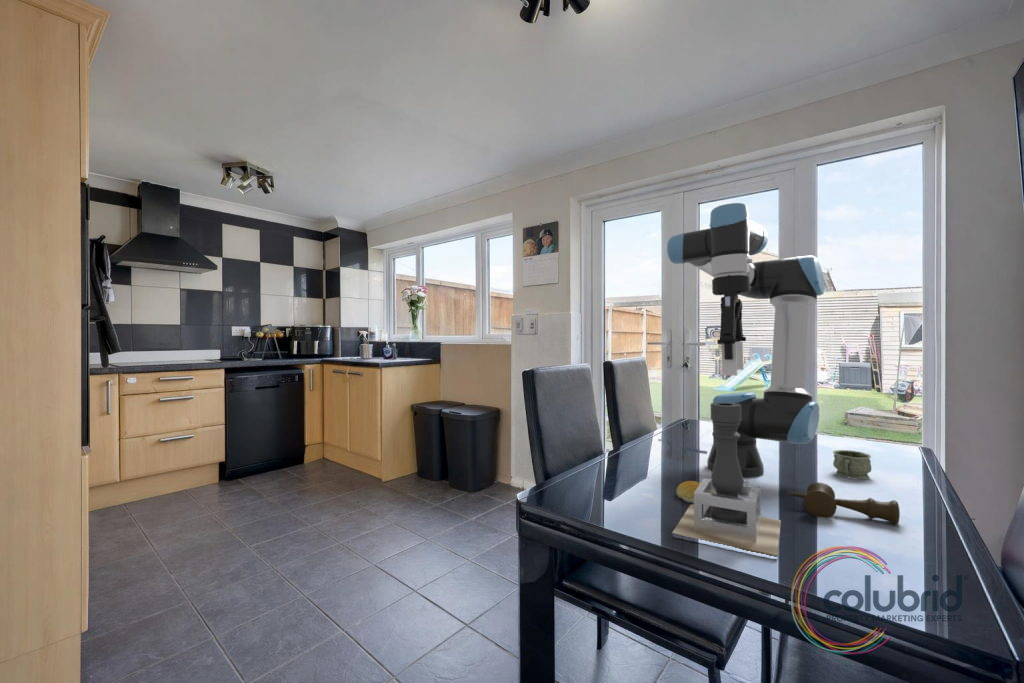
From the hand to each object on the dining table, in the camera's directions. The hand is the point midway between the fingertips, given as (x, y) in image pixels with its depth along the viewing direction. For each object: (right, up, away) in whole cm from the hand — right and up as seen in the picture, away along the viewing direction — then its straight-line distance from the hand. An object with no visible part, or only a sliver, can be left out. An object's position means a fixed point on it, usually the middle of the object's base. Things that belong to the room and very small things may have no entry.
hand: (733, 372), depth 98 cm
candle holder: (-5, -31, -7) cm, 32 cm away
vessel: (+48, -32, +29) cm, 65 cm away
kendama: (+24, -32, +1) cm, 40 cm away
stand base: (-5, -32, -7) cm, 33 cm away
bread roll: (-3, -33, +12) cm, 35 cm away
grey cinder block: (-5, -32, -7) cm, 33 cm away
